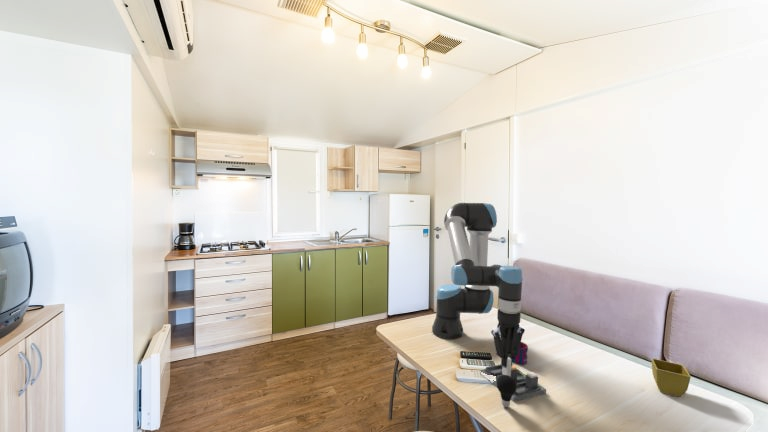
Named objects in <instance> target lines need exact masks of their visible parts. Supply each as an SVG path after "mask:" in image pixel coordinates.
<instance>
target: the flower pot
mask: <svg viewBox="0 0 768 432" xmlns="http://www.w3.org/2000/svg"><path fill="white" fill-rule="evenodd" d="M651 370H652V371H651V372H652V375H653V379H654V382H655V384H656V386H657V388H658V390H659V392H660V393H661V394H665V395H670V396H674V397H677V398H681V397H683V396H684V395H685V394H686V392H687V391H688V390H689V389H688V388H689V385H690V381H691V374H690V373H689V371H688V370H687V369H686V367H685V366H684V365H683V364H679V363H677V362H676V363H675V362H671V361H666V360H662V359H657V358H651Z"/></svg>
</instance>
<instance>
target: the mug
mask: <svg viewBox="0 0 768 432" xmlns="http://www.w3.org/2000/svg"><path fill="white" fill-rule="evenodd" d="M528 347H529V346H528V344H526V343H524V342H522V341H521V343H520V347H519V352H518V355H517V356H514V357H515V359H513V363H512V364H515V365H519V366H523V365H524V366H525V365H527V364H528V355H529V354H528V352H529V351H528V350H529V349H528ZM514 351H515V350H514Z"/></svg>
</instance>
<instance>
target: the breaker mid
mask: <svg viewBox="0 0 768 432" xmlns="http://www.w3.org/2000/svg"><path fill="white" fill-rule="evenodd" d="M517 369H518V368H517V367H516V366H515V365H513V364H512V366H511V377H512V378H513V379H514V380H516V379H517Z"/></svg>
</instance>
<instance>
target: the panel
mask: <svg viewBox="0 0 768 432" xmlns="http://www.w3.org/2000/svg"><path fill="white" fill-rule="evenodd" d="M481 372H483V373H485V374H487V375H493V376H496V381H494V380H493V381H494V382H493V383H491V384H492V385H493V386H494V387H495V388H497V379H498V378H499V377H500V376H502V375H503V374H502V368H501V363H500V364H497V365H495V364H494V365H491V366H487V367H485V368H484V369H480V373H481ZM526 375H527V374H525V373H524V372H522V371H521V370H519V369H518V368H517V379H516V380H514V381H515V383H516V392H515V393H514V394H513V395H512V397H511V400H510V401H512V402H518V401H521V400H525V399H530V398H533V397H537V396H542V395H545V394H547V389H546V388H545V387H544V386H542V385H541V384H539V383H538V387H537V388H533V389H529V388H528V387H527V386H525V382H526Z"/></svg>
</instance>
